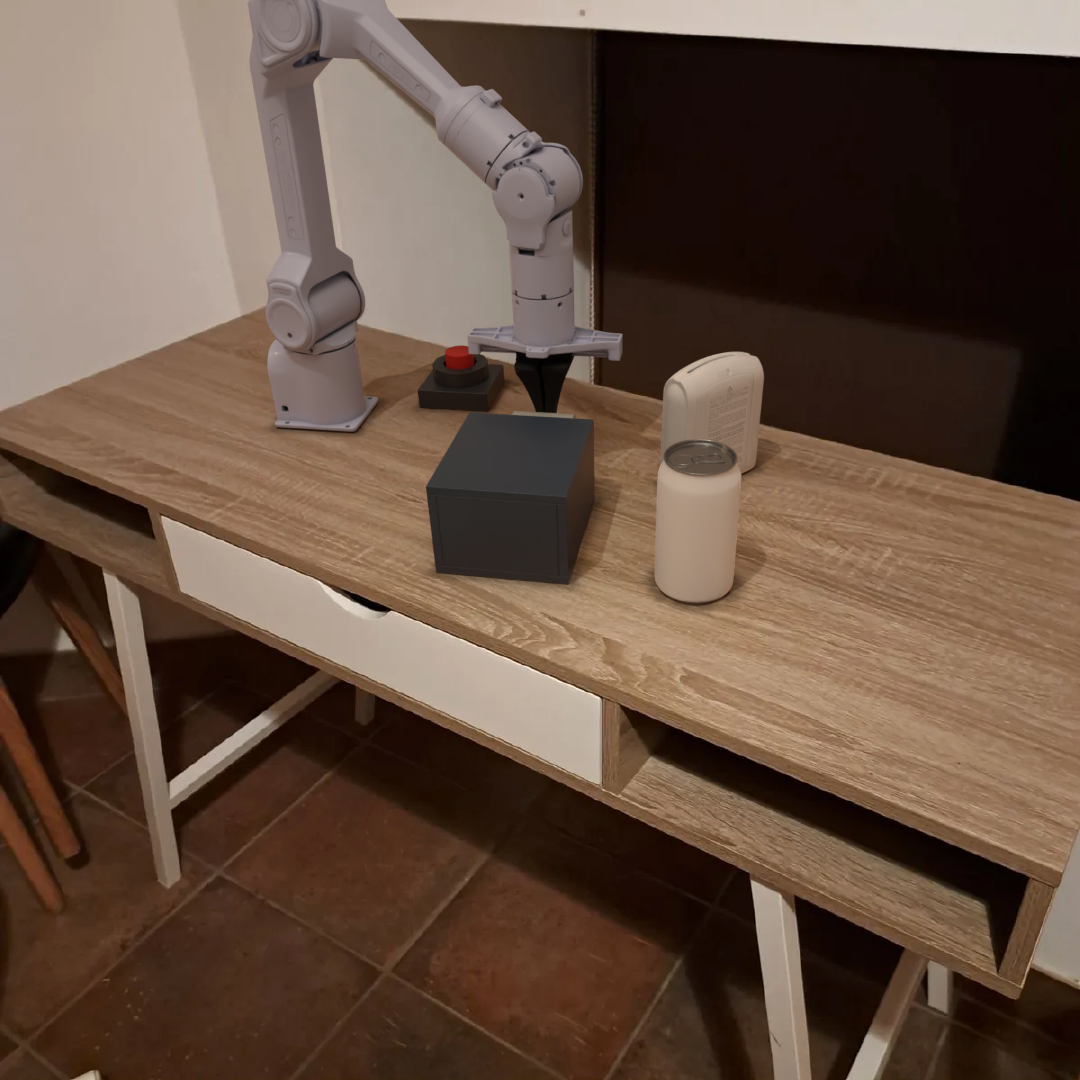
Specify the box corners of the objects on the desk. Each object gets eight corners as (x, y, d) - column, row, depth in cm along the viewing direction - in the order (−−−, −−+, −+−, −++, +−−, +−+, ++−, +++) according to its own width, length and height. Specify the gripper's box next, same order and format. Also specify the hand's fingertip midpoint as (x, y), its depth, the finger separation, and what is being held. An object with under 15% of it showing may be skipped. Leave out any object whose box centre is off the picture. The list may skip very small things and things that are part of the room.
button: (442, 370, 113) (441, 355, 112) (450, 359, 116) (449, 344, 115) (470, 371, 113) (469, 357, 112) (477, 360, 115) (476, 345, 114)
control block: (419, 407, 114) (415, 375, 112) (439, 378, 120) (436, 346, 118) (488, 411, 112) (485, 378, 110) (504, 381, 119) (502, 349, 117)
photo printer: (732, 452, 102) (741, 336, 96) (762, 468, 99) (773, 350, 92) (652, 483, 98) (655, 364, 91) (681, 501, 95) (687, 380, 88)
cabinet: (476, 492, 98) (469, 412, 93) (594, 501, 95) (593, 419, 91) (435, 572, 87) (425, 486, 82) (568, 584, 84) (566, 496, 80)
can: (648, 564, 86) (651, 439, 80) (722, 557, 87) (731, 433, 80) (662, 609, 81) (666, 480, 74) (741, 603, 81) (753, 473, 75)
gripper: (454, 302, 90) (466, 436, 98) (615, 308, 88) (615, 445, 95) (474, 275, 96) (484, 404, 104) (625, 280, 93) (624, 412, 101)
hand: (547, 422), depth 100 cm, fingers closed, pressing on drawer
